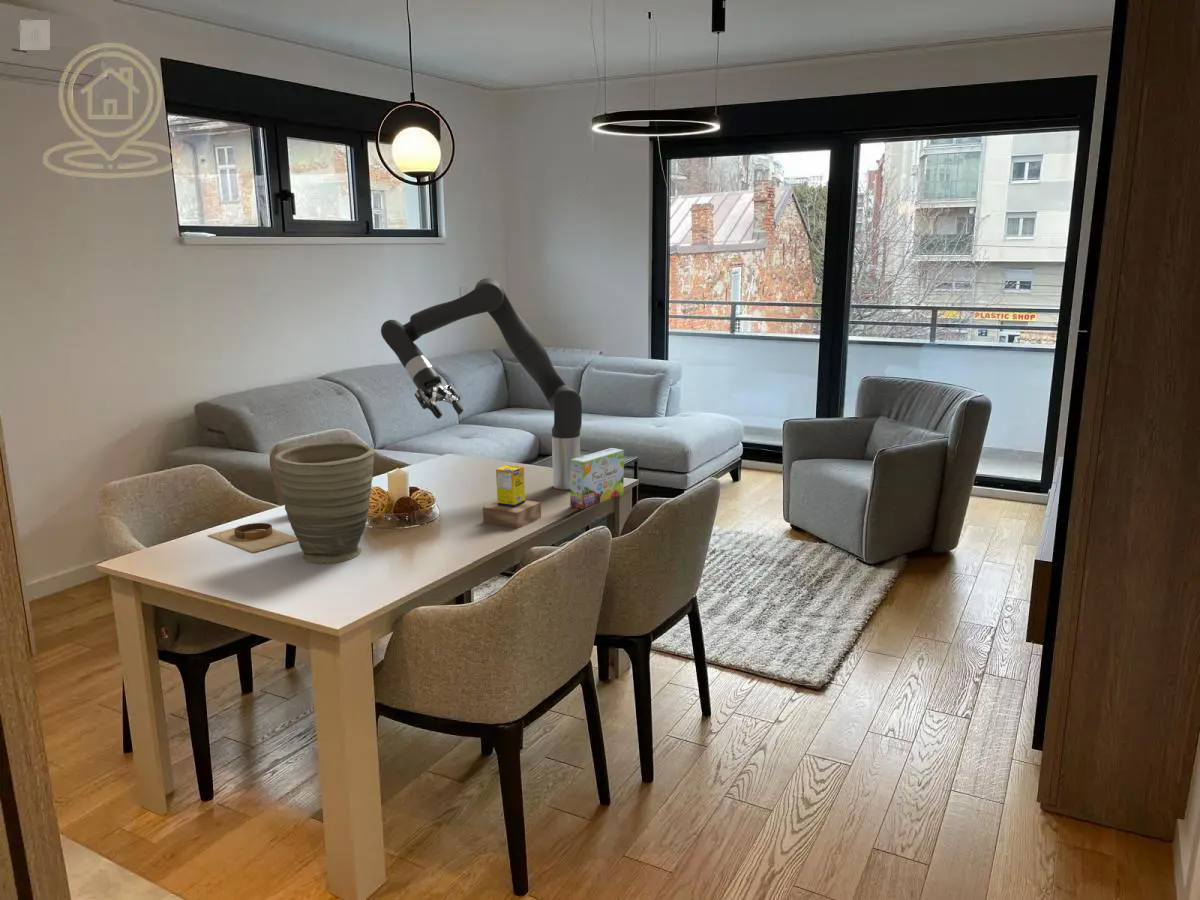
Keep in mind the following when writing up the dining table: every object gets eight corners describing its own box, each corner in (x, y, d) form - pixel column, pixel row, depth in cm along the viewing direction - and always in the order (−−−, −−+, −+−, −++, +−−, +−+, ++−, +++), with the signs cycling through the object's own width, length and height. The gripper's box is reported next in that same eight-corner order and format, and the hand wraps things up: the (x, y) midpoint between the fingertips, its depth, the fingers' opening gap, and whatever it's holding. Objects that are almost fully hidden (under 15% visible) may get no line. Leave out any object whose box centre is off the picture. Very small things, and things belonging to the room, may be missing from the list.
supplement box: (525, 502, 257) (524, 466, 255) (514, 507, 252) (513, 470, 249) (508, 500, 260) (506, 464, 257) (497, 505, 254) (495, 468, 252)
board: (204, 538, 244) (203, 527, 243) (254, 524, 256) (253, 514, 255) (253, 556, 229) (252, 544, 228) (304, 541, 241) (303, 530, 240)
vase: (269, 554, 230) (270, 440, 229) (362, 550, 241) (364, 441, 239) (278, 573, 208) (280, 446, 207) (380, 567, 219) (383, 447, 217)
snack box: (584, 510, 265) (583, 461, 262) (569, 507, 268) (568, 459, 265) (624, 494, 282) (624, 448, 278) (610, 491, 285) (610, 446, 282)
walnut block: (507, 513, 264) (507, 497, 263) (541, 518, 258) (540, 502, 257) (483, 524, 254) (482, 507, 253) (517, 529, 248) (517, 512, 247)
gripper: (410, 368, 260) (438, 410, 256) (445, 363, 271) (473, 403, 267) (399, 384, 264) (427, 426, 260) (434, 379, 276) (462, 418, 271)
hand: (450, 414), depth 264 cm, fingers open, 8 cm apart
